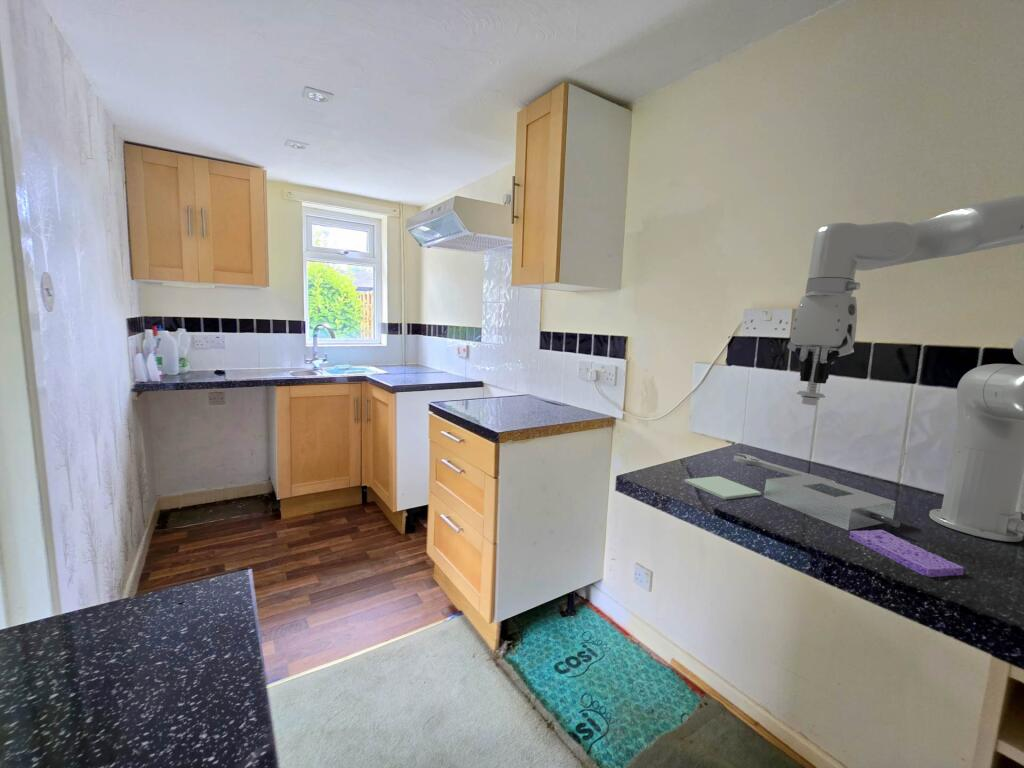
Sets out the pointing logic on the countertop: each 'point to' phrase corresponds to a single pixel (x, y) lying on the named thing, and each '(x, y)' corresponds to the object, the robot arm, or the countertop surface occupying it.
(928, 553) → the sponges
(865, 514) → the steel block
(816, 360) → the screw
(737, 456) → the adjustable wrench
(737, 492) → the rubber mat
